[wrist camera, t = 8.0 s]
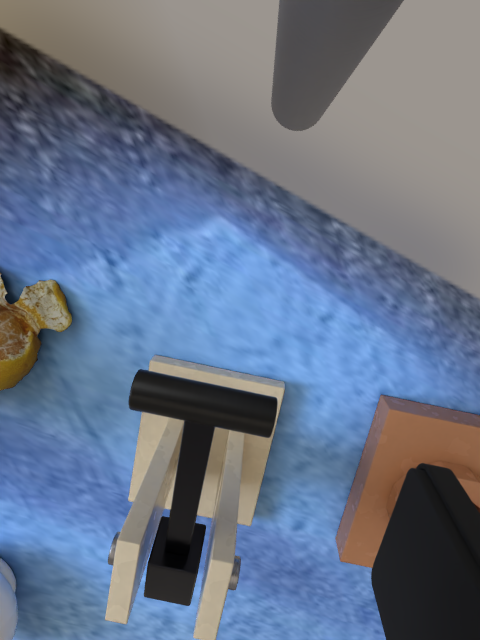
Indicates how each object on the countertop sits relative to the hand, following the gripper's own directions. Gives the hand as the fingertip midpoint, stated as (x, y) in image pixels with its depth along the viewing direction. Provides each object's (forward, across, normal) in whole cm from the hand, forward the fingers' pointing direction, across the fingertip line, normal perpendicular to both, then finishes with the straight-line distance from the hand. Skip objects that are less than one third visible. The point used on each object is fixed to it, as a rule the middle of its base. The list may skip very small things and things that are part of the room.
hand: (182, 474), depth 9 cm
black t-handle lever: (+8, 0, +6) cm, 11 cm away
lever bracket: (+20, 0, +12) cm, 23 cm away
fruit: (+20, +14, +6) cm, 25 cm away
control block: (+20, -16, +12) cm, 28 cm away
